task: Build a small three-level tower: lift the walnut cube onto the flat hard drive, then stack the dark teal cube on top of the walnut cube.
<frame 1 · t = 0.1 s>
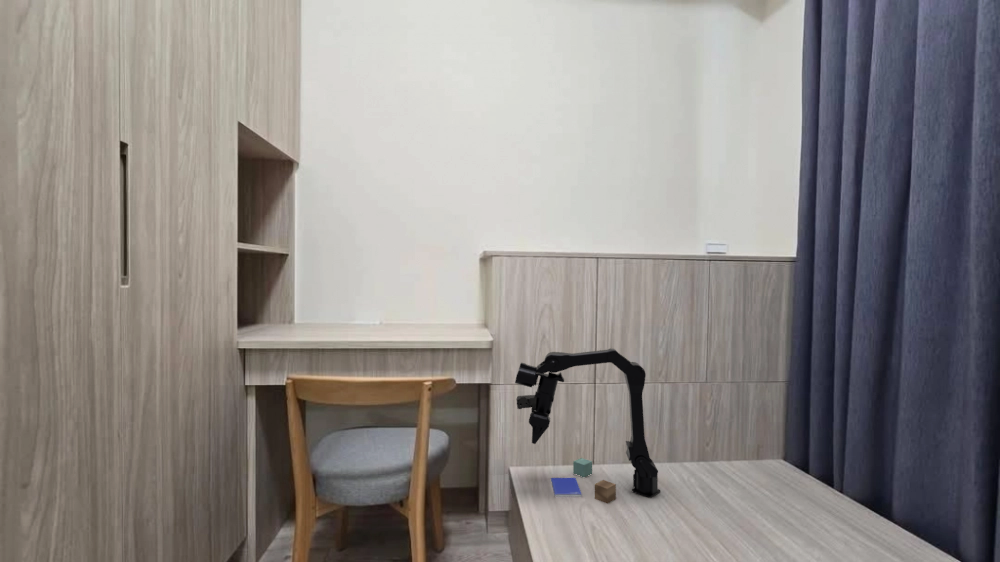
hand: (534, 438, 153), 15 cm above the table, tool pointing down, fingers open, 9 cm apart
walnut cube: (605, 499, 145), on the table
teal cube: (582, 474, 163), on the table
hard drive: (565, 490, 152), on the table
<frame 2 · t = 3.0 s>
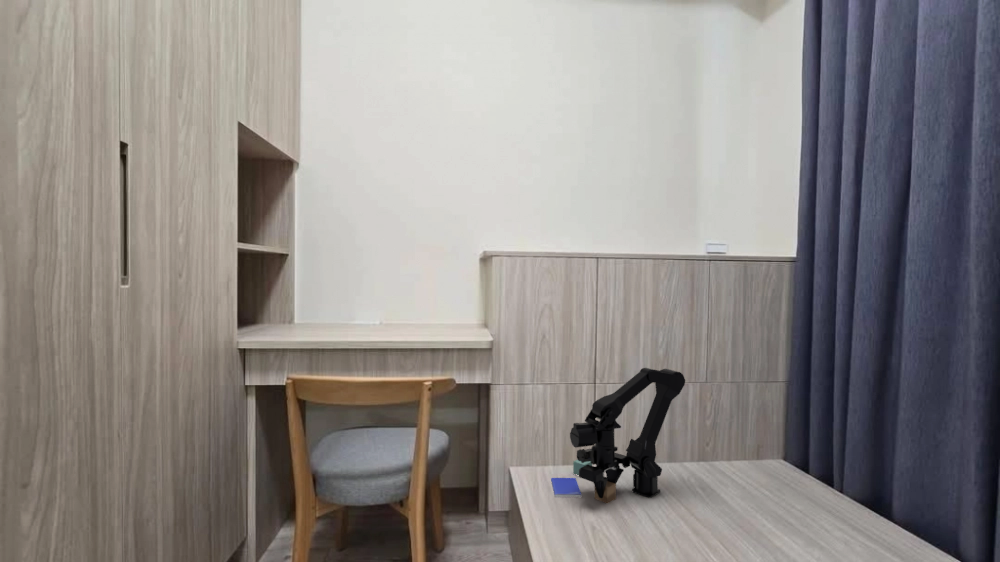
hand: (605, 495, 145), 1 cm above the table, tool pointing down, fingers closed on walnut cube, 4 cm apart
walnut cube: (605, 498, 145), on the table, touching gripper
everything else where it was.
when the fingers open (4 cm above the table, at t = 6.5 s): walnut cube drops 3 cm, resting on hard drive.
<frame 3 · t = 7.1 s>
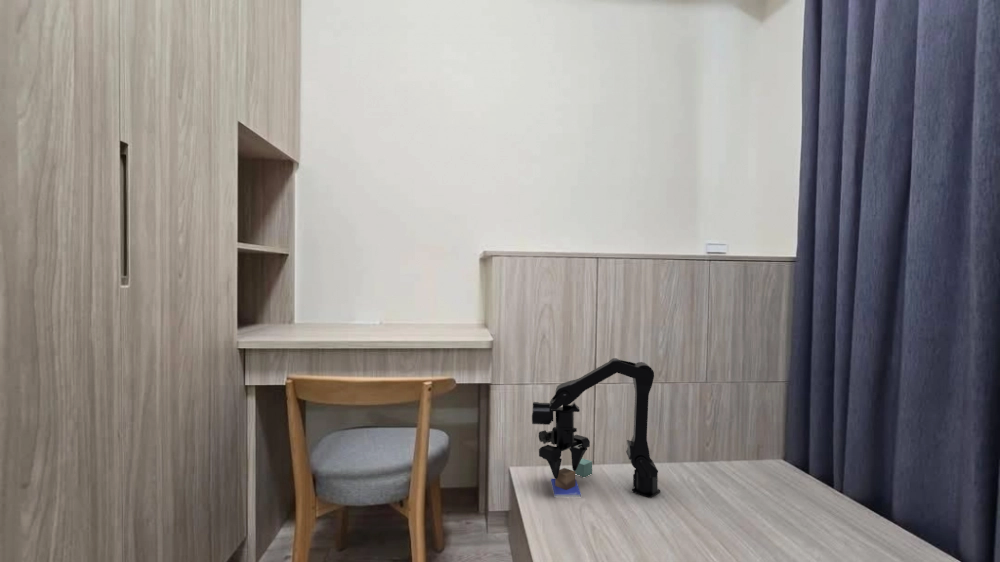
hand: (565, 474, 152), 4 cm above the table, tool pointing down, fingers open, 9 cm apart
walnut cube: (565, 485, 152), point 1 cm above the table, touching hard drive
hard drive: (565, 491, 152), on the table, touching walnut cube
everything else where it was.
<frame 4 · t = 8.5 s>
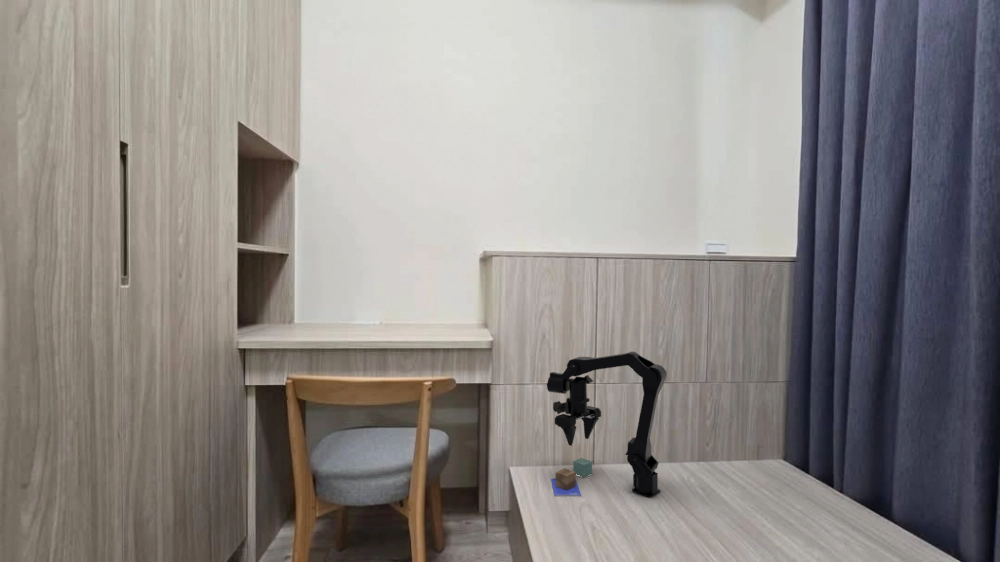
hand: (578, 442, 161), 12 cm above the table, tool pointing down, fingers open, 9 cm apart
nothing on the table moved.
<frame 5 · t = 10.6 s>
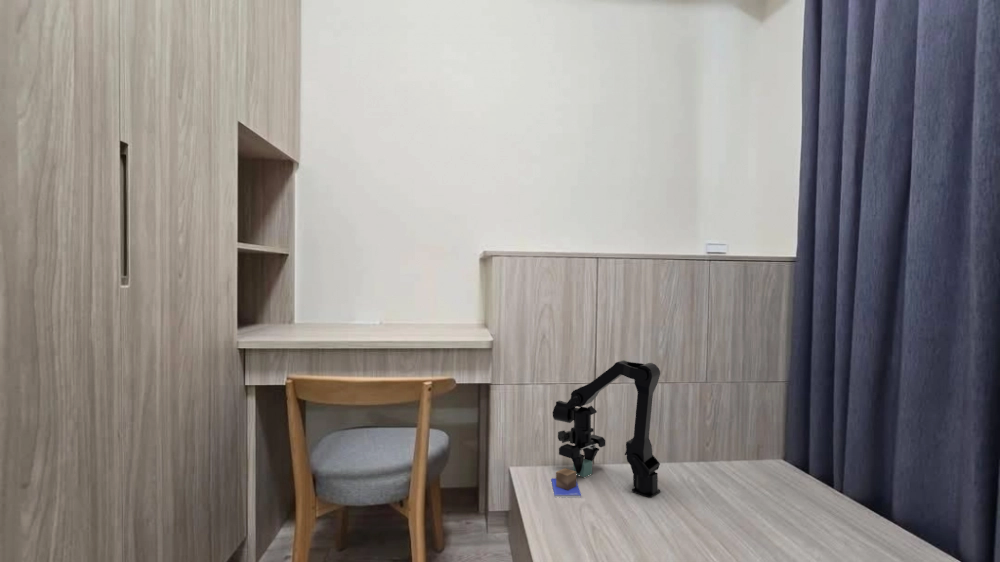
hand: (582, 471, 163), 1 cm above the table, tool pointing down, fingers closed on teal cube, 4 cm apart
teal cube: (582, 474, 163), on the table, touching gripper
everything else where it was.
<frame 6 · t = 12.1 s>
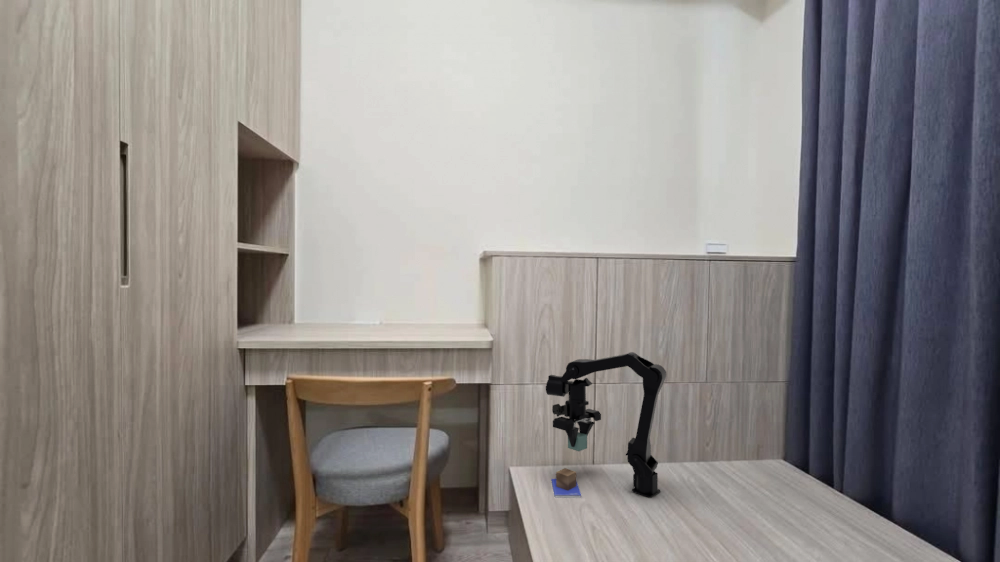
hand: (577, 445, 160), 11 cm above the table, tool pointing down, fingers closed on teal cube, 4 cm apart
teal cube: (577, 448, 160), point 10 cm above the table, touching gripper
everything else where it was.
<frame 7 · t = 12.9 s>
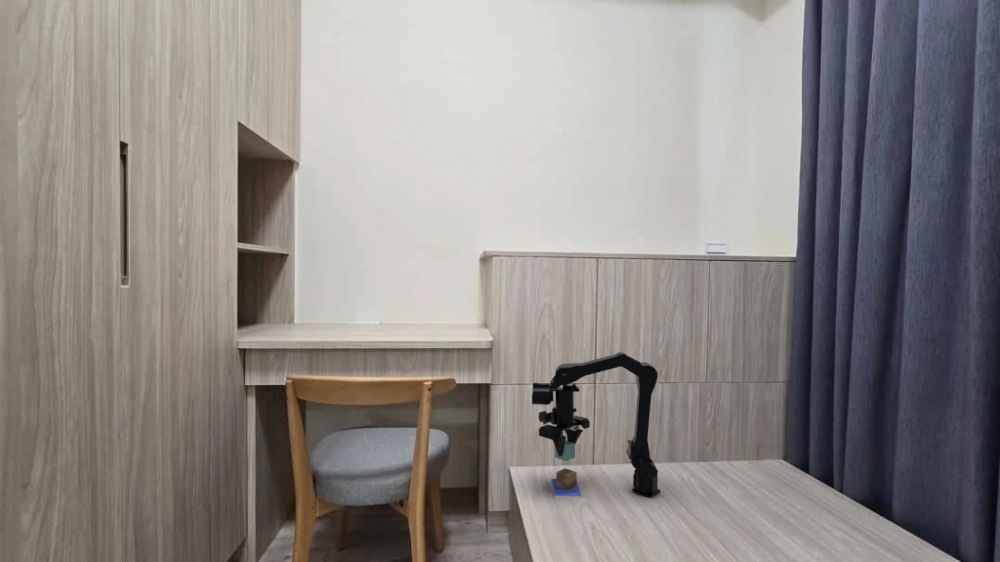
hand: (565, 454, 152), 11 cm above the table, tool pointing down, fingers closed on teal cube, 4 cm apart
teal cube: (564, 457, 152), point 10 cm above the table, touching gripper
everything else where it was.
when the fingers open (9 cm above the table, at t = 13.5 s): teal cube drops 3 cm, resting on walnut cube.
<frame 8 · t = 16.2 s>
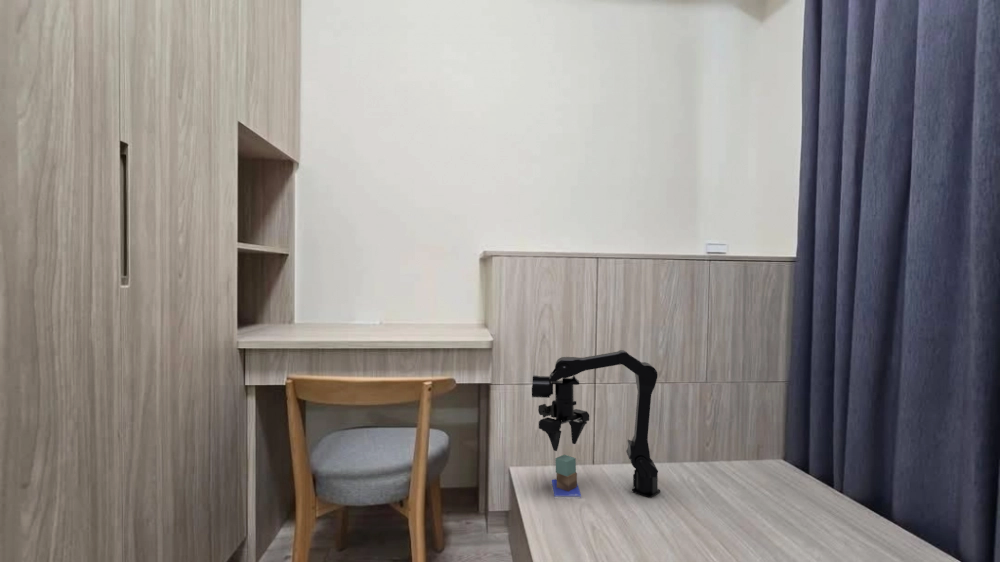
hand: (564, 447, 152), 13 cm above the table, tool pointing down, fingers open, 9 cm apart
walnut cube: (566, 487, 151), point 1 cm above the table, touching hard drive, teal cube
teal cube: (565, 472, 152), point 5 cm above the table, touching walnut cube
everything else where it was.
at the end: walnut cube 0.4 cm off-centre on the hard drive, point 1.8 cm above the hard drive's base; teal cube 0.4 cm off-centre on the walnut cube, point 4.5 cm above the walnut cube's base; teal cube tilted 0° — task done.
